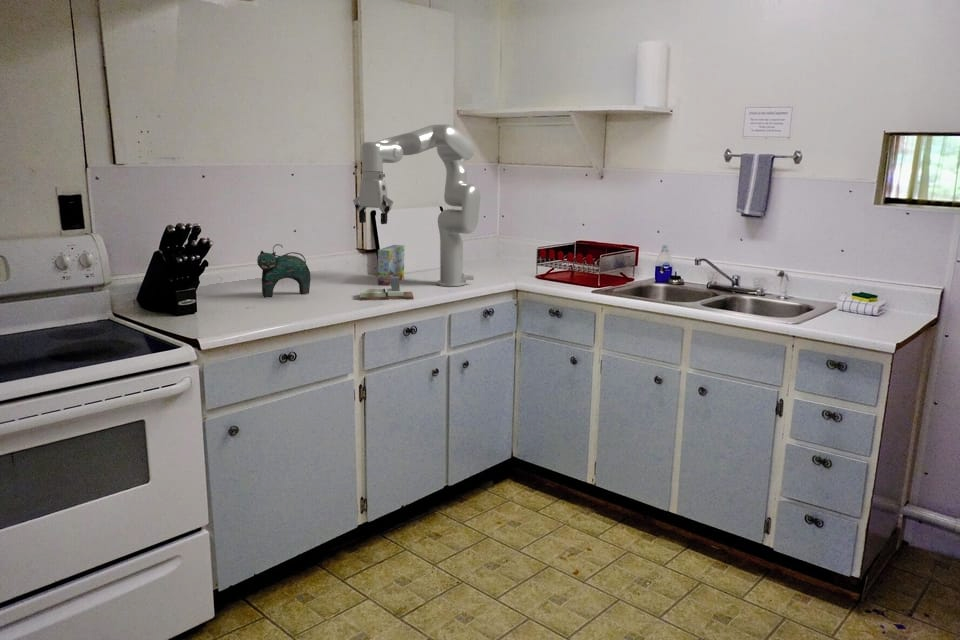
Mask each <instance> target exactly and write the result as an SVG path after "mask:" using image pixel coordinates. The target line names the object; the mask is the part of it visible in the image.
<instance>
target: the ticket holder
mask: <svg viewBox="0 0 960 640" xmlns="http://www.w3.org/2000/svg"><path fill="white" fill-rule="evenodd" d="M389 299H406V300H414V294H413V291H404V296H388V293H387V290H386V288H361V289H360V290H359V300H360V301H390V300H389Z"/></svg>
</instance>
